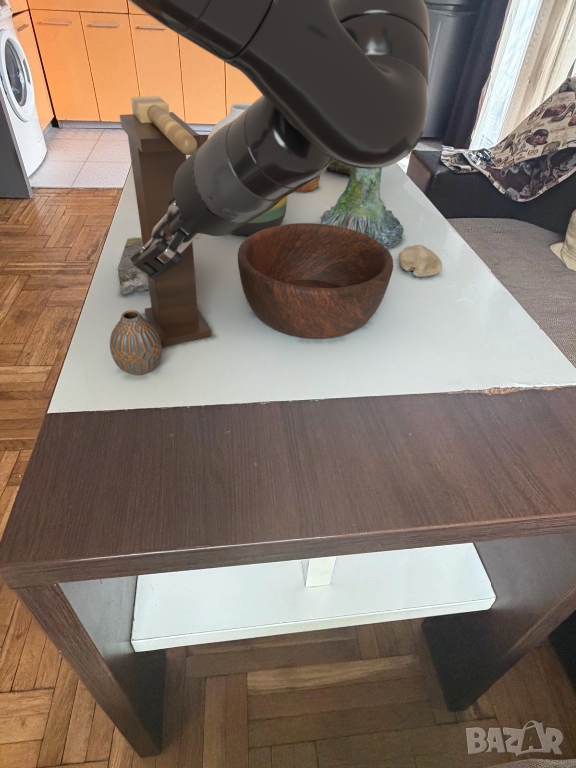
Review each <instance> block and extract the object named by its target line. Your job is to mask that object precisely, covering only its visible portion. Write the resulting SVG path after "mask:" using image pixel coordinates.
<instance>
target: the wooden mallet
mask: <svg viewBox="0 0 576 768" xmlns="http://www.w3.org/2000/svg"><path fill="white" fill-rule="evenodd" d="M130 101H131V109H132V110H131V111H132V114H134V115H135V116H136V118H137V119H138V120H139V121H140V122H141V123H153V124H154V125H155V126H156V127H157V128H158V129H159V130H160V131H161V132H162V133H163V134H164V135H165V136H166V137H167V138H168V139H169V140H170V141H171V142H172V143H173V144H174V145H175V146H176V147H177V148H178V149H179V150H180V151H181V152H182V153H183V154H186V156H191V155H192V154H193V153H194V152H195V151H196V150H197V142H196V139H195V138H194V137H193V136H192V135H191V134H190V133H189V132H188V131H186V130H185V129H184V128H183V127H182V126H181V125H180V124H179V123H177V122H176V121H175V120H174V119H173V118H172V117H171V116H170V115H169V112H170V106H169V103H168V102H166V101H165V100H164V99H163V98H162V97H160V95H145V96H143V95H142V96H131V97H130Z"/></svg>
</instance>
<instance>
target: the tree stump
mask: <svg viewBox="0 0 576 768" xmlns="http://www.w3.org/2000/svg"><path fill="white" fill-rule="evenodd" d="M382 170H383V167H381V168H375V169H363V168H357V167H352V170H351V174H350V175H349V177H348V181H347V184H346V187H345V190H344V191H343V192H342V193H341V195H340V196H339V197H338V198H337V201H336V203H335V205H334V206H330V209H327V210H325V211H323V213H322V215H321V216H320V217H319V218H320V221H321V224H327V225H334V226H339V227H344V228H348V229H351V230H355V231H358V232H360V233H363V234H365V235H368V236H370V237H372V238H373V239H375V240H377V241H378V242H380V243H381V244H382V245H383V246H384V247H385V248H386V249H387V250H390V249H392V248H394V247H395V246H397V245H398V244H399V243H401V242H402V240H403V235H404V226H403V224H401V222H400V221H399V219H398V217H396V216H395V215H394V214H393V211H392V210H389V209H387V208H386V207H387V206H385V204H384V203H385V202H384V201H383V200H382V198H381V181H382Z"/></svg>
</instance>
